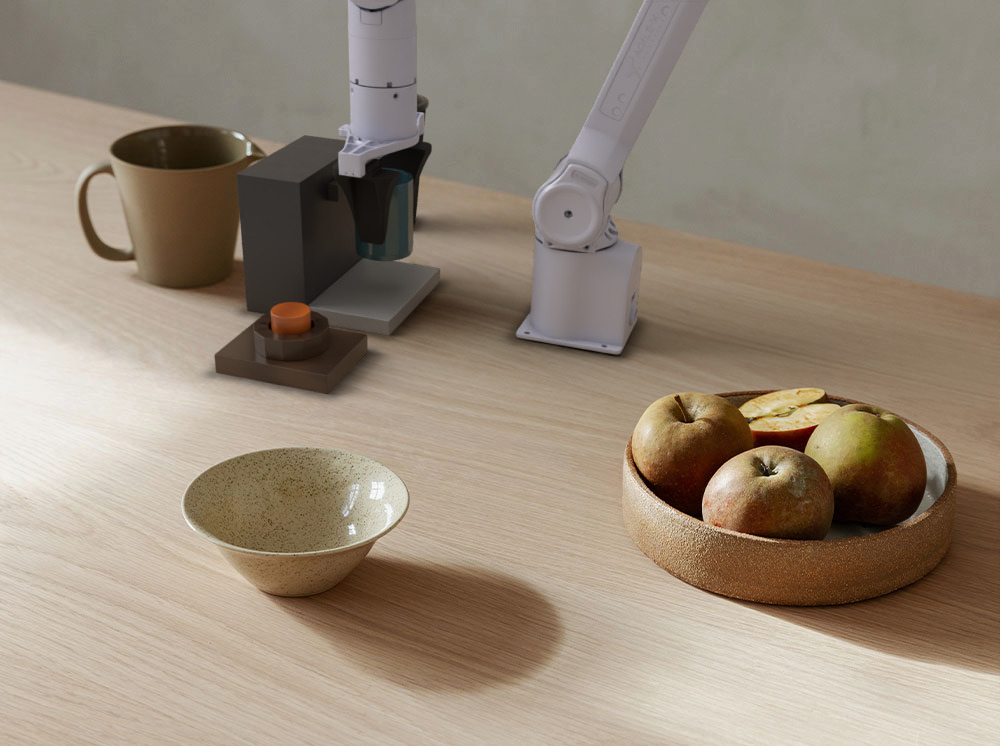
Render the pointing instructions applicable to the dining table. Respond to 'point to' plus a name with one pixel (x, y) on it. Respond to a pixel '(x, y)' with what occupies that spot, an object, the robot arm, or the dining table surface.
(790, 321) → the dining table surface
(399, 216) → the creamer cup
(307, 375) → the button block
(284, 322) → the brew button
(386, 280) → the coffee maker
